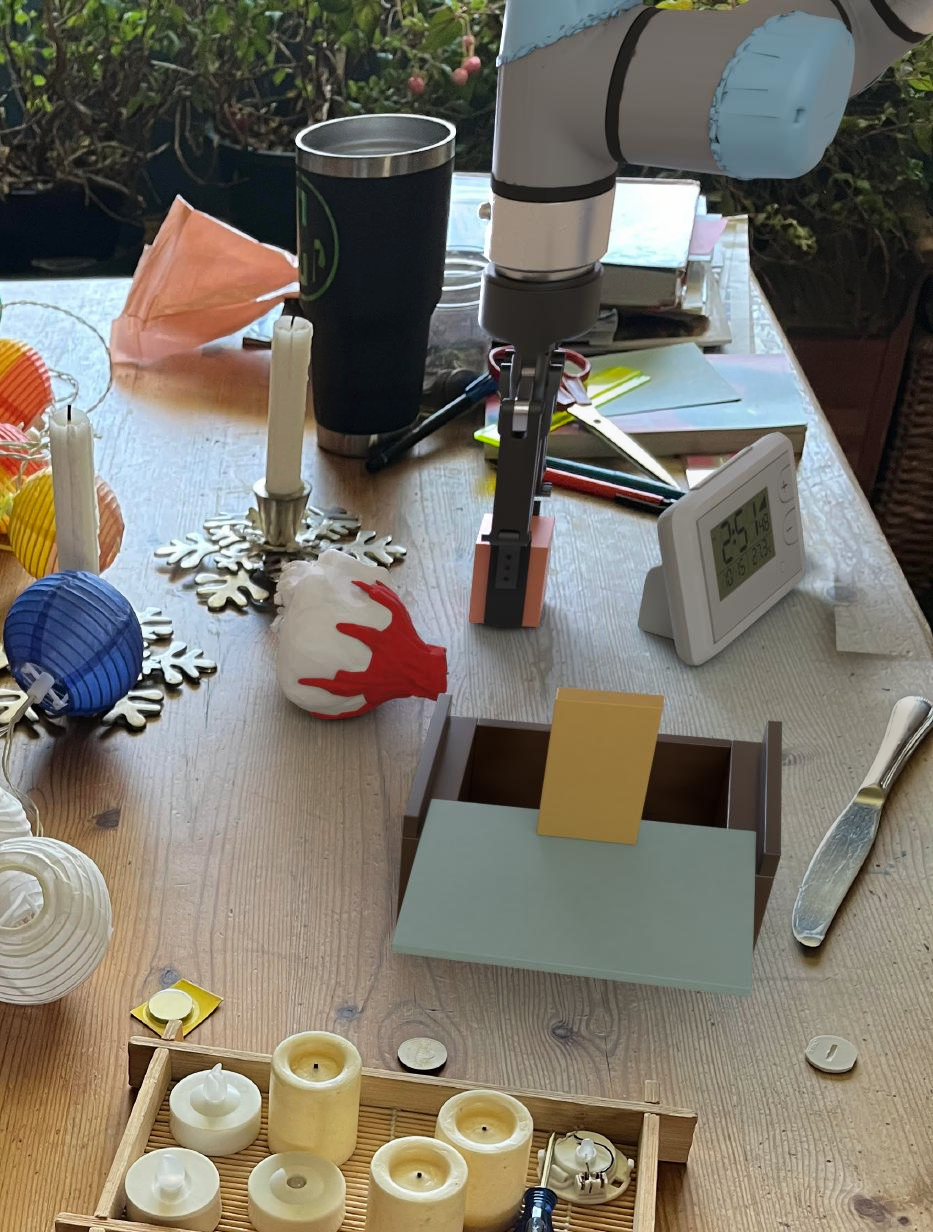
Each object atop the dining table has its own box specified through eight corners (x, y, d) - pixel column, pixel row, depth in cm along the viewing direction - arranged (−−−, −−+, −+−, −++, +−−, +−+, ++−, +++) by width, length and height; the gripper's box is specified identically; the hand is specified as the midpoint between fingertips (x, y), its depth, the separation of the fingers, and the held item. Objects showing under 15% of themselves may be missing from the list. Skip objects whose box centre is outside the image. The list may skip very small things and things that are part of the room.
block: (545, 594, 116) (555, 516, 111) (538, 627, 112) (548, 547, 108) (477, 590, 117) (484, 512, 113) (468, 622, 114) (475, 543, 109)
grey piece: (754, 840, 80) (793, 691, 74) (749, 998, 72) (793, 845, 66) (430, 807, 84) (441, 664, 78) (390, 952, 76) (400, 805, 70)
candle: (281, 633, 114) (472, 697, 109) (210, 707, 107) (410, 778, 103) (297, 517, 107) (501, 580, 103) (222, 588, 101) (436, 658, 96)
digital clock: (691, 680, 106) (722, 530, 99) (589, 634, 112) (611, 488, 104) (840, 599, 112) (880, 452, 105) (736, 559, 118) (767, 416, 110)
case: (747, 857, 92) (782, 720, 86) (742, 993, 84) (781, 854, 77) (428, 823, 97) (439, 692, 91) (394, 949, 89) (403, 815, 82)
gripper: (500, 216, 105) (472, 547, 121) (463, 310, 93) (437, 662, 109) (616, 216, 103) (571, 552, 119) (593, 311, 91) (547, 670, 107)
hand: (507, 604), depth 114 cm, fingers closed on block, 5 cm apart
